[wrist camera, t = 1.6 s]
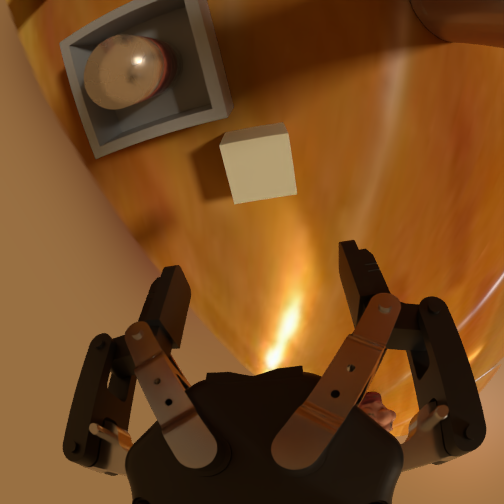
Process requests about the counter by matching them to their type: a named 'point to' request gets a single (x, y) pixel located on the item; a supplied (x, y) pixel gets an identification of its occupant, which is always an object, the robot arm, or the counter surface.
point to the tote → (164, 105)
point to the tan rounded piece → (131, 70)
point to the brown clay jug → (377, 410)
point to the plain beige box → (258, 163)
